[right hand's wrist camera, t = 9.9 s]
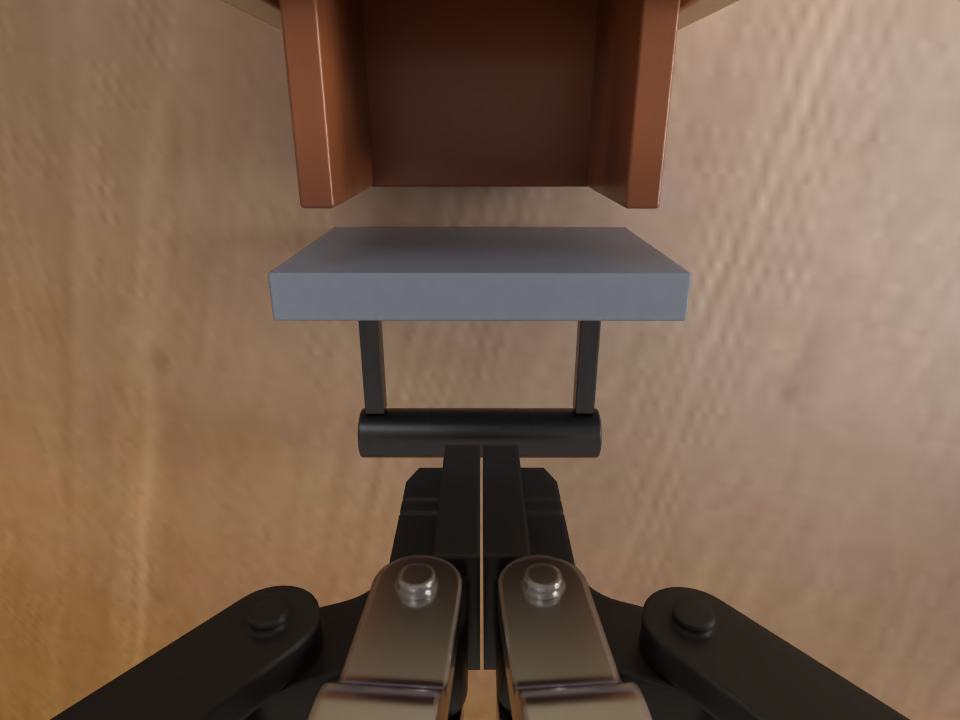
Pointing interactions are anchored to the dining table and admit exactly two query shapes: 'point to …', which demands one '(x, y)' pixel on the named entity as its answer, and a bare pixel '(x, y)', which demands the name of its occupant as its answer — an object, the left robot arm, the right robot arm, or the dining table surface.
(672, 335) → the dining table surface
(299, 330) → the dining table surface
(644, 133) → the drawer
